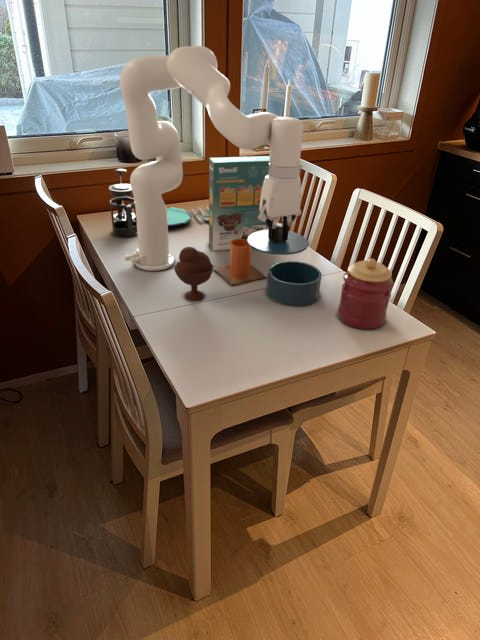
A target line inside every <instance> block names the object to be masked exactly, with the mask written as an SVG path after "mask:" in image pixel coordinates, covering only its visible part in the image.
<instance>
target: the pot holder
mask: <svg viewBox="0 0 480 640" xmlns="http://www.w3.org/2000/svg"><path fill="white" fill-rule="evenodd" d="M213 271H214V272H215V273H217V275H218V276H220V277H221V278H222V279H223V280H225V281H226V282H227V283H228V284H229V285H230V286H233V287H234V286H237V285H242V284H246V283H250V282H255V281H259V280H263V279H266V276H265V275H264V274H263V273H262V272H261V271H259V270H258V269H257V268H255V267H254V266H253V265H251V272H250V275H248V276H246V277H236V276H233V275H231V274H230V264H228V265H224V266H218V267H215V268H213Z"/></svg>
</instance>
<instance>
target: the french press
mask: <svg viewBox="0 0 480 640" xmlns="http://www.w3.org/2000/svg"><path fill="white" fill-rule="evenodd" d="M113 172H114V173H117V174H118V175H119V178H120V183H115V184H111V185H109V186H108V190H109V192H110V195H111V196H112V197H114V198H111V199H110V200H109V207H110V218H111V225H112V226H111V227H112V232H111V234H112V235H113V236H114V237H117V238H121V239H122V238H124V239H125V238H126V239H127V238H132V237H135V236H138V232H137V219H136V208H135V201H134V197H132V196H133V192H132V189H131V184H130V183H123V181H122V180H123V179H122V176H123V173H126V172H127V169H125V168H117V169H114V170H113ZM124 202H132V203H129V204H125V203H124ZM114 209H116V210H117V212H116V213H114ZM133 211H134V212H133Z"/></svg>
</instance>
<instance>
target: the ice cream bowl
mask: <svg viewBox="0 0 480 640" xmlns="http://www.w3.org/2000/svg"><path fill="white" fill-rule="evenodd" d="M178 259H179V260H178V261H177V262H176V263H175V265H174V266H173V269H174V273H175V275H176V276H177V278H178V279H179V280H180V281H181V282H182V283H184V284H186V285H189V286H190V290H188V291H186V293H185V294H184V298H185V299H186V300H188V301H190V302H199V301H200V300H203V299H204V297H205V294H204V293H203V292H202V291H200V290H199V289H198V286H200V285H203V284H205V283H206V282H208V280H210V278H211V276H212V274H213V271H214V267H215V266H214V264H213V263H211V259H210V257H209V256H208V255H207V254H206V253H205V252H204V251H201V250H197V249H196V248H195V247H192V246H185V247H183V248H182V249H181V250H180V252H179V256H178Z"/></svg>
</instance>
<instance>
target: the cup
mask: <svg viewBox="0 0 480 640" xmlns="http://www.w3.org/2000/svg"><path fill="white" fill-rule="evenodd" d="M252 252H253V248H252V247H251V246H249V244H248V242H247V240H246V239H234V240H232V241H231V242H230V249H229V265H230V274H231V275H233V276H236V277H246V276H248V275H250V272H251V266H252V254H253V253H252Z"/></svg>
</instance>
